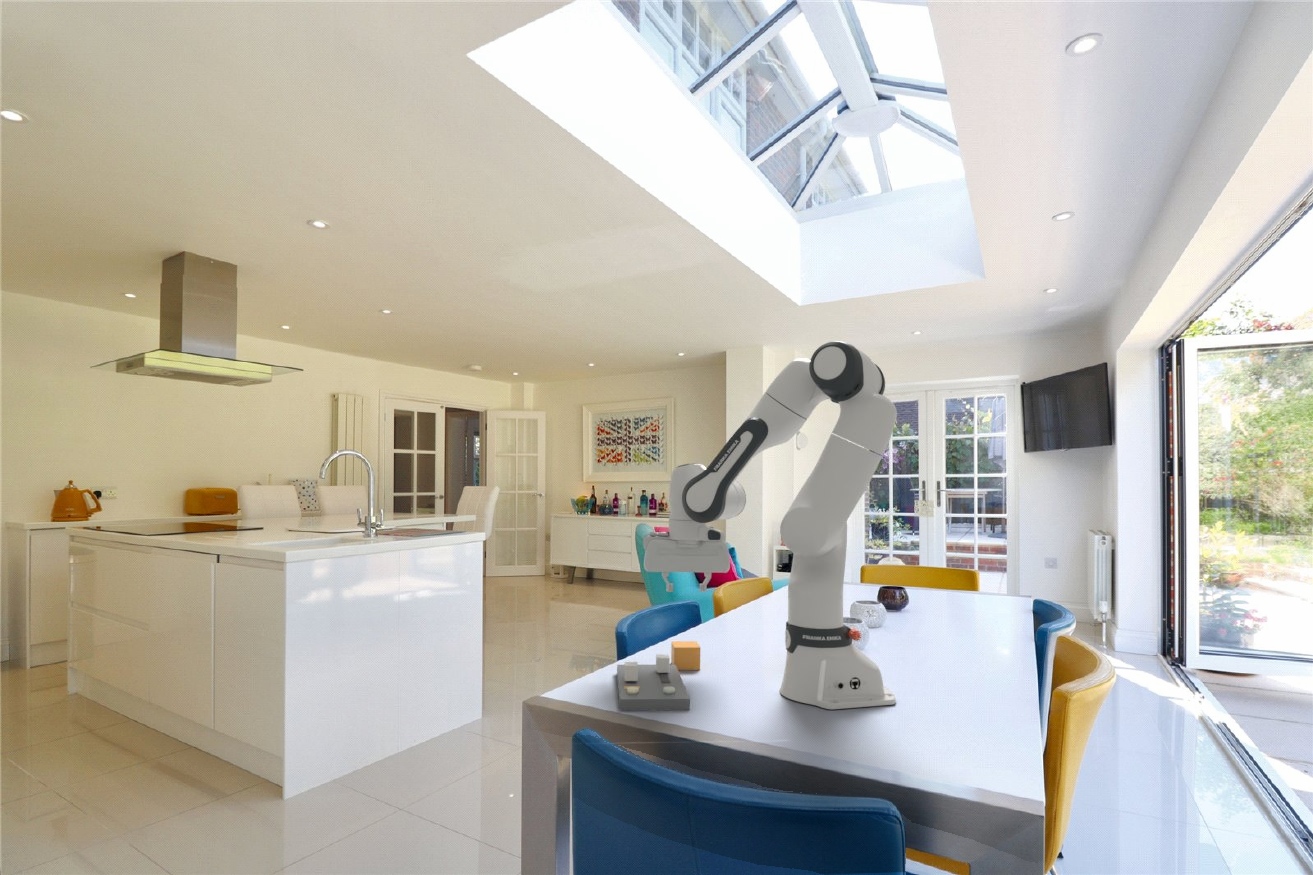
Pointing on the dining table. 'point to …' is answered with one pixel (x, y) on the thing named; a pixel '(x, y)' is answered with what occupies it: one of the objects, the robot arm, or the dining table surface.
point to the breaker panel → (652, 690)
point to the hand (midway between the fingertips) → (686, 591)
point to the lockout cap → (685, 655)
